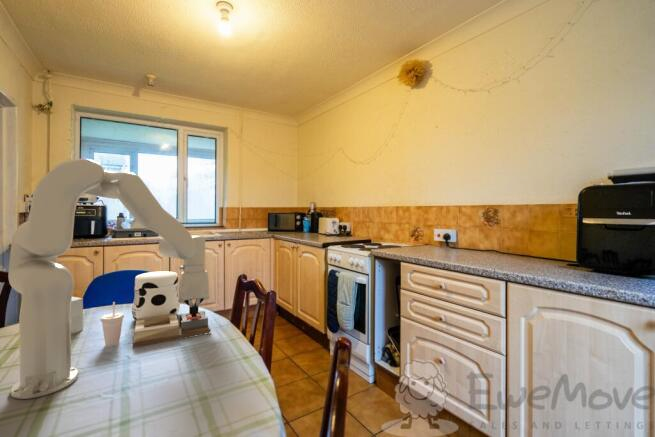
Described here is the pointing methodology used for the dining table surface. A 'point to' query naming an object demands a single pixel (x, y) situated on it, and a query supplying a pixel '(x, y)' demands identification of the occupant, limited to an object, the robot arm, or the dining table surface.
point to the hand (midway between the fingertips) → (193, 315)
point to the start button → (193, 317)
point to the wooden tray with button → (168, 328)
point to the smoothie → (112, 327)
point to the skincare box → (76, 314)
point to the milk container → (155, 294)
